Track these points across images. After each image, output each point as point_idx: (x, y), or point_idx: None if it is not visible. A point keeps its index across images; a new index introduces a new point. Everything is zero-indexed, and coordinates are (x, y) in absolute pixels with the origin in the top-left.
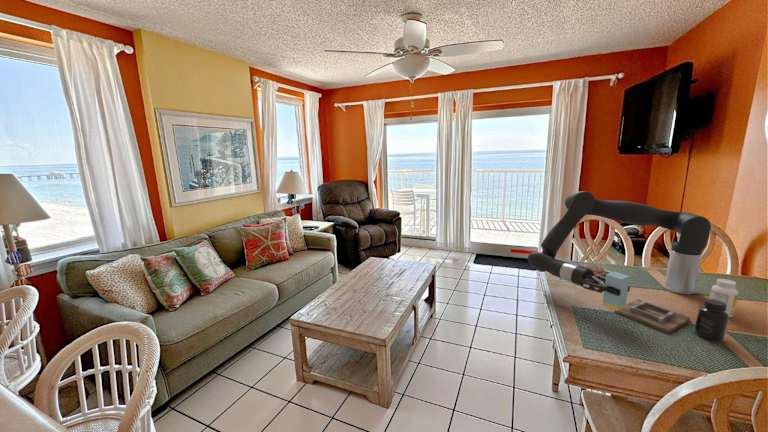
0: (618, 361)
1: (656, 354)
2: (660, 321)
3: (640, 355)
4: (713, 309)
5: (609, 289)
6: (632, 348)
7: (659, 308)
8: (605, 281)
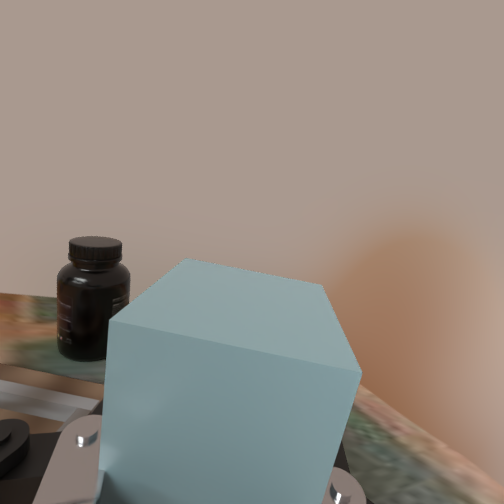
0: (484, 477)
1: None
2: None
3: (376, 439)
4: (121, 259)
5: (342, 461)
6: (368, 465)
7: None
8: (326, 476)
